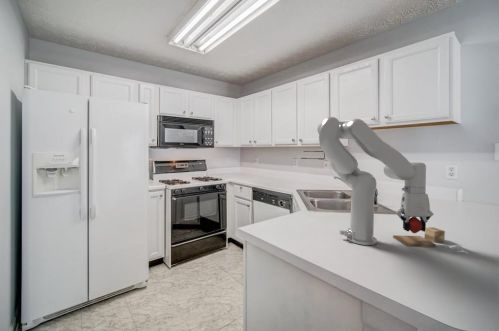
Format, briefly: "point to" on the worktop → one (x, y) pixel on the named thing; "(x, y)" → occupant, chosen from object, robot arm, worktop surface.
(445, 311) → the worktop surface
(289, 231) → the worktop surface
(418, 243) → the board
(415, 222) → the onion
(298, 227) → the worktop surface
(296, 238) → the worktop surface
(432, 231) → the oak block
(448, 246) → the tile
